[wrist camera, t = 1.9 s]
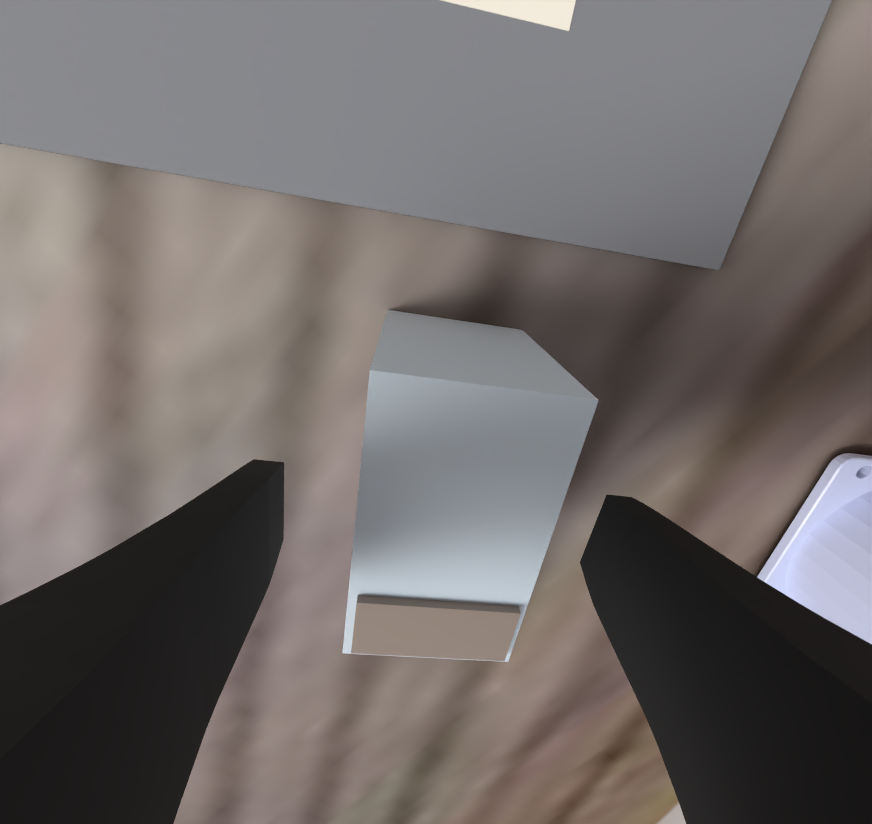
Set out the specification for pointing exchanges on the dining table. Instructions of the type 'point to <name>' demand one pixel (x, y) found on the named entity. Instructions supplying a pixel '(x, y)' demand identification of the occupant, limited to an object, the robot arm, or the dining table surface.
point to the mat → (429, 105)
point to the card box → (458, 486)
